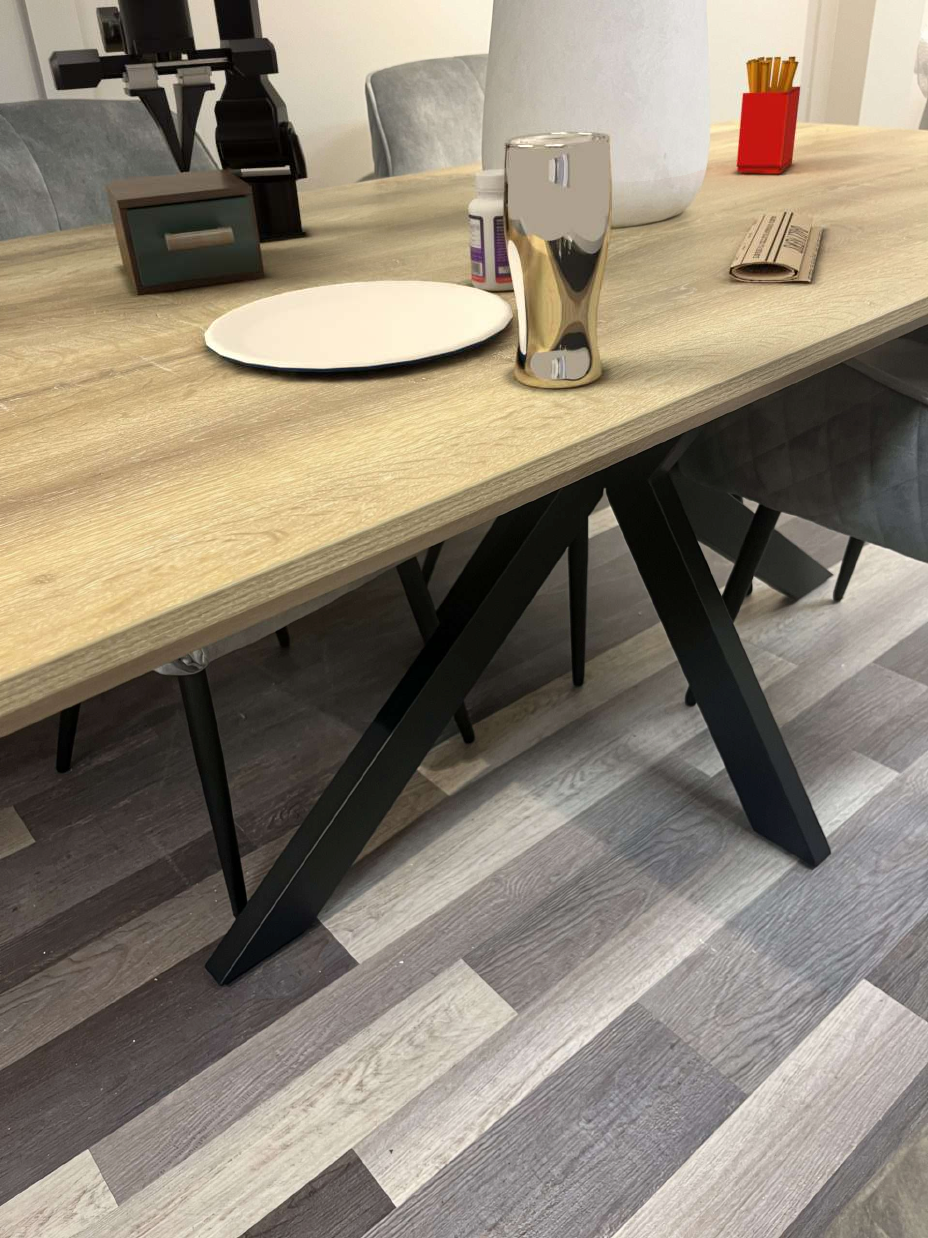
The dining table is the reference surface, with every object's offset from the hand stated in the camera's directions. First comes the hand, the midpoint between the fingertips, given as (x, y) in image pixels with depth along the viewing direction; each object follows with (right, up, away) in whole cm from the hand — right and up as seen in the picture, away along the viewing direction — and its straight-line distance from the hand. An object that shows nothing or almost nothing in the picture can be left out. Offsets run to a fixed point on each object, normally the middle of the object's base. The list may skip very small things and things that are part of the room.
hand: (184, 171), depth 90 cm
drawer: (-2, -5, +10) cm, 12 cm away
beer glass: (+32, -24, -21) cm, 45 cm away
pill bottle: (+29, -10, +2) cm, 31 cm away
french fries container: (+68, +23, +52) cm, 89 cm away
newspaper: (+56, -5, +7) cm, 57 cm away
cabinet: (-3, -4, +14) cm, 15 cm away
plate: (+17, -17, -9) cm, 26 cm away
